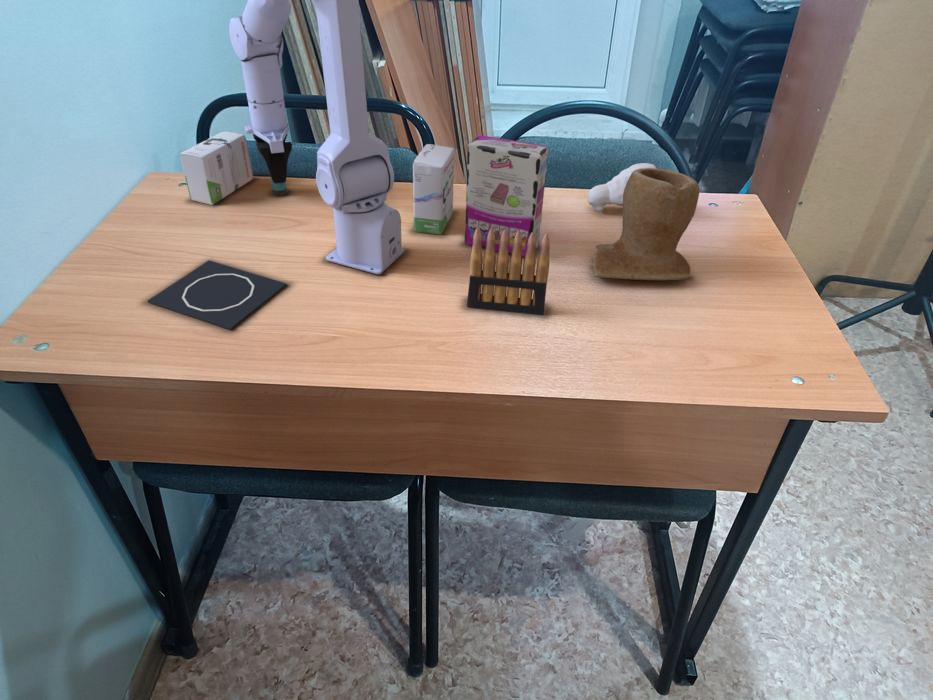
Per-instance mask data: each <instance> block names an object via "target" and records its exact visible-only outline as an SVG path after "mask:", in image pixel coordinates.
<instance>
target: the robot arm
mask: <svg viewBox="0 0 933 700" xmlns="http://www.w3.org/2000/svg"><path fill="white" fill-rule="evenodd" d="M310 1H311V2H312V4H313V5H314V6H315V10H316V11H315V12H316V21H317V29H318V36H319V37H318V38H319V44H320V45H319V46H320V55H321V63H322V73H323V81H324V89H325V90H324V91H325V96H326V97H325V98H326V107H327V116H328V123H329V132H330V133H329V135H328V137H327V138H326V139H325V141H324V142H323V143H322V144H321V146H320V147H319V148H318V149H317V152H316V161H317V167H316V173H315V182H316V187H317V190H318V193H319V195H320V197H321V198H322V200H323V201H324V202H325V204H327V205H328V206H329V207H330V208H332V215H333V225H334V233H335V235H334V236H335V244H336V248H335V249H334V250H333V251H331V252H330V253H329V254H327V255H326V256H325V260H326V261H327V262H331V263H333V264H337V265H342V266H346V267H349V268H353V269H355V270H360V271H364V272H366V273H371V274H374V275H378V276H379V275H381V274H383V272H385V271H386V270H387V269H389V267H390V266H391V265H392V264H393V263H395V261H396V260H397V259H399V258H400V257H401V256H402V255H403V254H404V253H405V248H403V244H402V218H401V217H402V216H401V214H400V212H399V210H398V209H395V208H393V207H392V206H390V205H388V204H387V203H386V201H387V200H388V197H387V194H388V193H390V192H391V191H392V190H393V187H394V182H395V171H394V168H393V165H392V162H391V159H390V154H389V146H388V145H387V144H386V143H385V142H384V140H382V139H380V138H378V137H377V136H376V135H374V134H373V133H370V131H369V118H368V106H367V105H368V104H367V91H366V79H365V69H364V67H365V65H364V56H363V55H364V54H363V43H362V42H363V41H362V29H361V17H360V5H359V0H310ZM291 12H292V4H291V1H290V0H247V2H246V4H245V7H244V10H243V12H242V15H241V16H237V17H231V18H230V20H229V26H228V33H229V39H230V43H231V46H232V50H233V51H234V54H235V55H236V57H237V58H238V59H239V61H240V65H241V70H242V75H243V81H244V88H245V93H246V99H247V103H248V109H249V110H248V111H249V116H250V123H251V124H249V125H245V126H244V131H245V133H246V134H248V135H250V134H252V137H253V139H254V140H255V142H256V143H255V146H256V149H257V151H258V152H259V154H260V155H261V156H262V158H263V159H264V162H265V164H266V167H267V169H268V173H269V176H270V179H271V178H272V181H273V183H283V182H286V183H287V174H288V162H289V158H290V155H291V152H292V149H293V144H292V142H291V141H287V137H288V134H289V131H290V124H289V123H288V119H287V111H286V110H287V109H286V103H285V96H284V90H283V82H282V74H281V68H283V64H284V63H283V52H284V38H283V36H282V32H283V30H284V29H285V26H286V24H287V22H288V21H289V17H290V15H291ZM286 141H287V142H286Z"/></svg>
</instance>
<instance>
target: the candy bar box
mask: <svg viewBox="0 0 933 700" xmlns="http://www.w3.org/2000/svg"><path fill="white" fill-rule="evenodd" d="M549 150H550V146H548V145H541V144H535V143H531V142H524V141H518V140H513V139H506V138H502V137H501V138H500V137H493V136H487V135H482V134H479V135H478V136H476V137H475V138H474V139H473V140H472V141H471V142H469V143H468V145H467V155H466V156H467V157H466V192H465V193H466V194H465V199H466V200H465V224H464V225H465V226H464V228H465V229H464V244H465V245H466V246H471V247H472V246H473V238H474V233H475V230H476V228H477V227H479V228H480V231H481V236H482V249H486V241H487V236H488V233H489V231H490V229H491V228H493V230H494V234H495V252H499V245H500V239H501V236H502V233H503V231H504V230H505V229H506V230H507V233H508V239H509V247H508V249H509V252H508V255H510V256H511V255H512V250H513V243H514V239H515V236H516V233H517V232H518V231H520V233H521V237H522V258H525V254H526V249H527V243H528V239H529V237H530V235H531V233H532V232H534V234H535V238H536V249H537V248H539V247H538V246H539V244H540V235H541V225H542V217H543V206H544V197H545V187H546V178H547V169H548V161H549V160H548V159H549Z"/></svg>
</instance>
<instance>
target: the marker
mask: <svg viewBox="0 0 933 700" xmlns="http://www.w3.org/2000/svg"><path fill="white" fill-rule="evenodd" d="M270 181H271V188H272V193H273V196H275V197H283V196H286V195H287V194H288V188H287V181H286V182H283V183H273V181H272V178H271V177H270Z"/></svg>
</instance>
